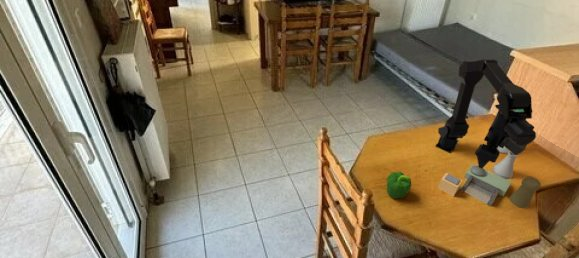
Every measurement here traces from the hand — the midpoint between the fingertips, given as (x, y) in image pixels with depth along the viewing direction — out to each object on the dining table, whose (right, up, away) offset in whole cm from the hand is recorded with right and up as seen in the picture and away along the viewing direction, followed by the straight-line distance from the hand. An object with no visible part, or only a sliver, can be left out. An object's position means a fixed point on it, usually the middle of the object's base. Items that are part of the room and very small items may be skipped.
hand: (484, 161), depth 112 cm
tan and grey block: (-10, -11, +7) cm, 16 cm away
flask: (+16, -6, +14) cm, 22 cm away
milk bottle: (+23, +3, +26) cm, 35 cm away
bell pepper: (-30, -13, +5) cm, 33 cm away
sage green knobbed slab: (+7, -9, +9) cm, 15 cm away
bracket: (+1, -12, +5) cm, 13 cm away
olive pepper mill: (+14, -15, +2) cm, 20 cm away
